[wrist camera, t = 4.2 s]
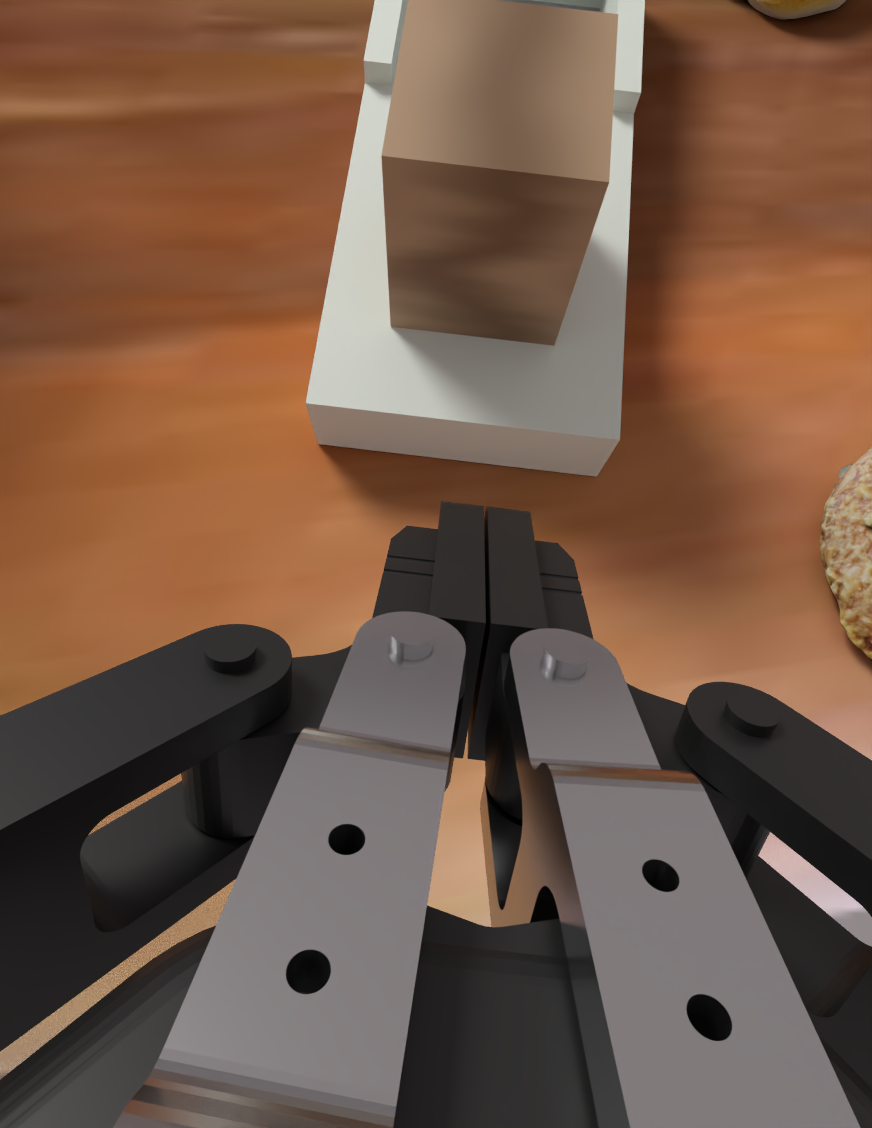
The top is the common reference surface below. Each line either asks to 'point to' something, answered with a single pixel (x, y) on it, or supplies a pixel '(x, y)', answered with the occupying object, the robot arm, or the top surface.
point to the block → (495, 164)
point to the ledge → (469, 344)
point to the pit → (624, 3)
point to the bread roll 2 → (851, 549)
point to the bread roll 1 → (794, 7)
